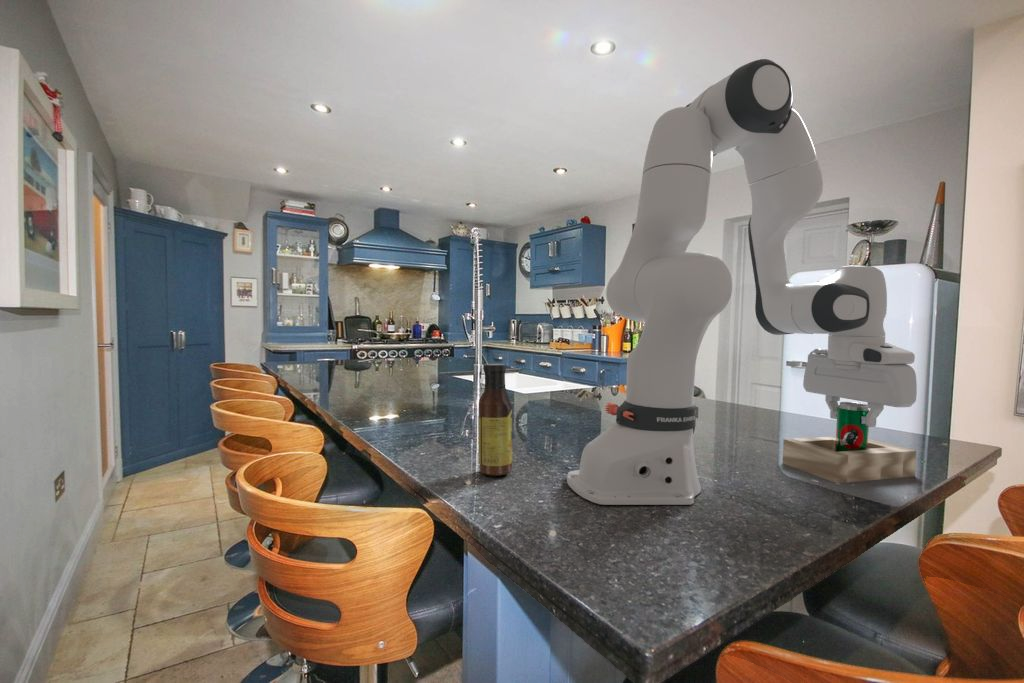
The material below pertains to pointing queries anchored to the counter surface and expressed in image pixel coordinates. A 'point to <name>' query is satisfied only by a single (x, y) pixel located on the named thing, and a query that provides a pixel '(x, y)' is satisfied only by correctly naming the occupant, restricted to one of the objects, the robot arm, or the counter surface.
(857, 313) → the robot arm
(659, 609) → the counter surface
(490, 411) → the sauce bottle
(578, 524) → the counter surface
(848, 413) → the soda can
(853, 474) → the keyhole board
